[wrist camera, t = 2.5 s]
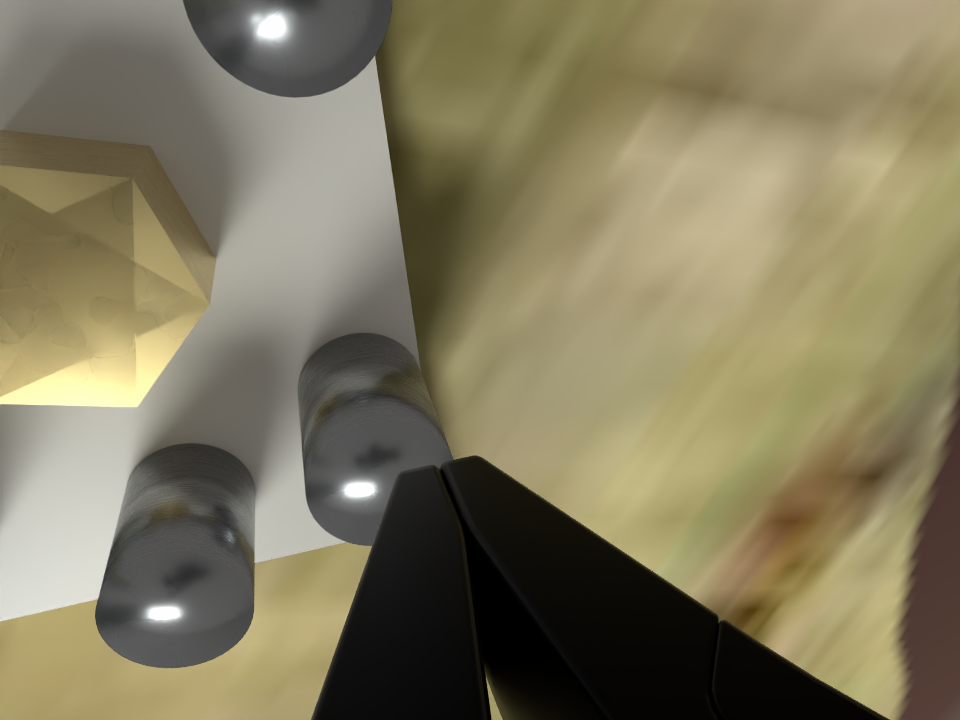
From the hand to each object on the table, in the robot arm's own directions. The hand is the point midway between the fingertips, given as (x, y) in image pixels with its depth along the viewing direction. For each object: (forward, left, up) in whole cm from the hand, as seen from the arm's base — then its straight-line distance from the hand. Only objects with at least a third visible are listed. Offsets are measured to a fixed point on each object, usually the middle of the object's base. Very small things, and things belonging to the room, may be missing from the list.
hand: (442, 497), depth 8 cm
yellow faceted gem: (-5, 0, -10) cm, 12 cm away
